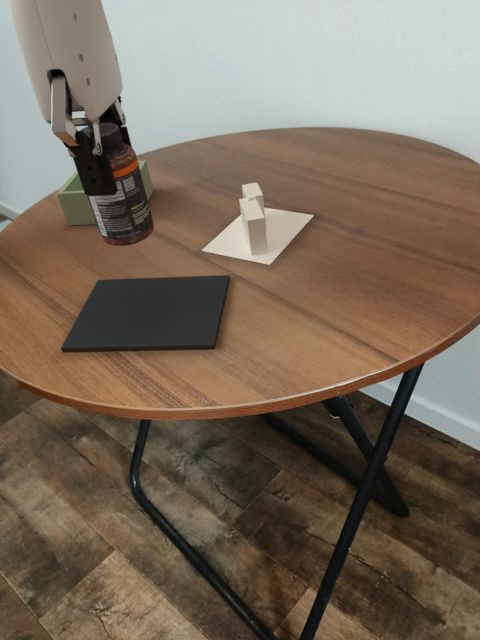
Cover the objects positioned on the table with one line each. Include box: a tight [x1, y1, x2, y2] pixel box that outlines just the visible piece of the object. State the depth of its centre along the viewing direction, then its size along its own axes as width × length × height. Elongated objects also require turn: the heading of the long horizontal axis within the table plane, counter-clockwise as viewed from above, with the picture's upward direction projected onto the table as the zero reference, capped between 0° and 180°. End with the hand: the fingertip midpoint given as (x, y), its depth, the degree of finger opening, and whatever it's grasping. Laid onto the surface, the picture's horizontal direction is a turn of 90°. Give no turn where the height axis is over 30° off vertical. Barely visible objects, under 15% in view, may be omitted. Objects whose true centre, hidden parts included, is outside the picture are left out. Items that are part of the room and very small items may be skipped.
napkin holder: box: [200, 182, 315, 266], centre depth 75 cm, size 15×11×6 cm
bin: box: [56, 160, 154, 227], centre depth 87 cm, size 12×12×6 cm
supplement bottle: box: [79, 123, 155, 247], centre depth 54 cm, size 6×6×11 cm
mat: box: [60, 274, 231, 353], centre depth 64 cm, size 18×14×1 cm
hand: (111, 178), depth 53 cm, fingers closed on supplement bottle, 6 cm apart
